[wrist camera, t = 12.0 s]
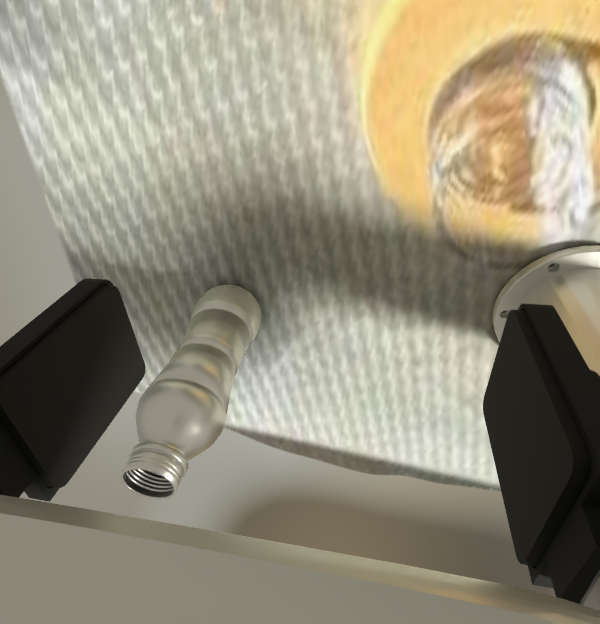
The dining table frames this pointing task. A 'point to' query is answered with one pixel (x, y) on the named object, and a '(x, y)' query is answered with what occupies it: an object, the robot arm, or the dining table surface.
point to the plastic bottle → (191, 392)
